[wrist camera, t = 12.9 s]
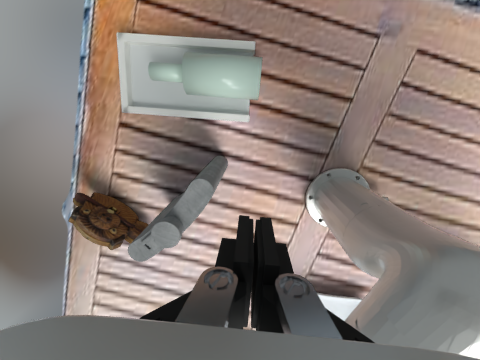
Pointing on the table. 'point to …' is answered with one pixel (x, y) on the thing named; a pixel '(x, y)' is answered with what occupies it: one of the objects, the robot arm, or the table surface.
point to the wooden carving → (105, 220)
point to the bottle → (213, 75)
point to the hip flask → (178, 213)
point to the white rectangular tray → (172, 93)
